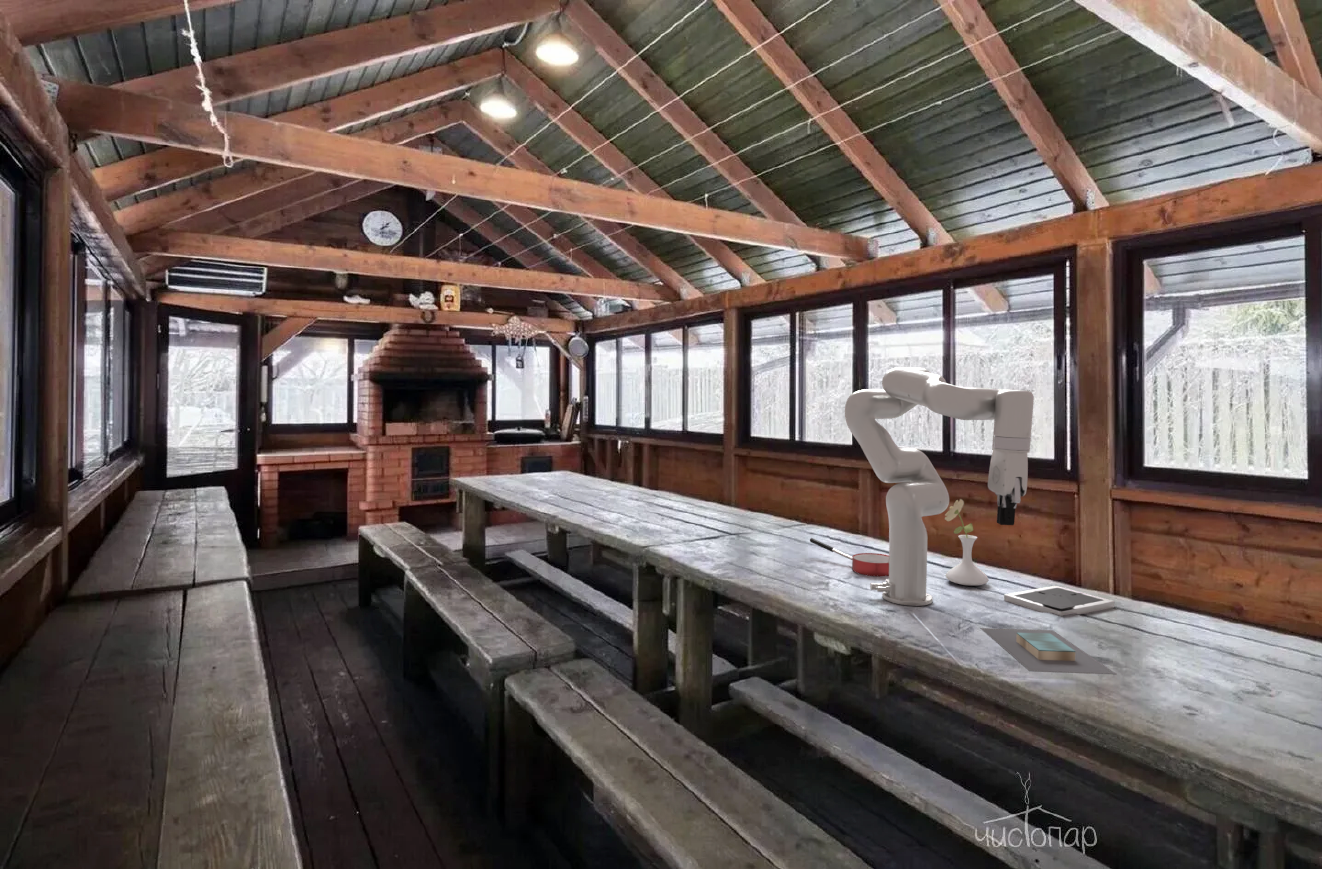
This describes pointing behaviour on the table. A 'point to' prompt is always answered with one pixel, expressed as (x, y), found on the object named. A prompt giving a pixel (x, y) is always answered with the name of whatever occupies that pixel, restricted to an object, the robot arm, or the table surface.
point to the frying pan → (863, 561)
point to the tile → (1045, 646)
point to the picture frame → (1059, 601)
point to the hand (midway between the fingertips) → (1005, 524)
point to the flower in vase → (964, 553)
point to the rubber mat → (1029, 661)
